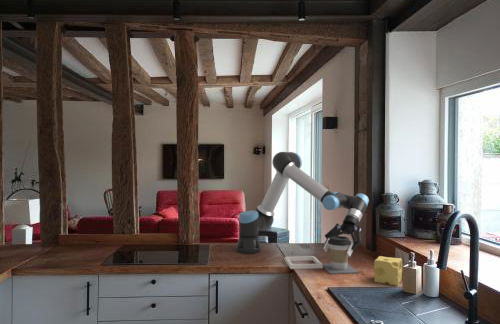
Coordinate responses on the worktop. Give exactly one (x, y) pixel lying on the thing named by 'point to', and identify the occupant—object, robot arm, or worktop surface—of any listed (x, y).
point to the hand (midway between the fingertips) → (336, 252)
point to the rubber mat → (334, 271)
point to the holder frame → (303, 266)
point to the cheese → (388, 270)
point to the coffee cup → (339, 252)
